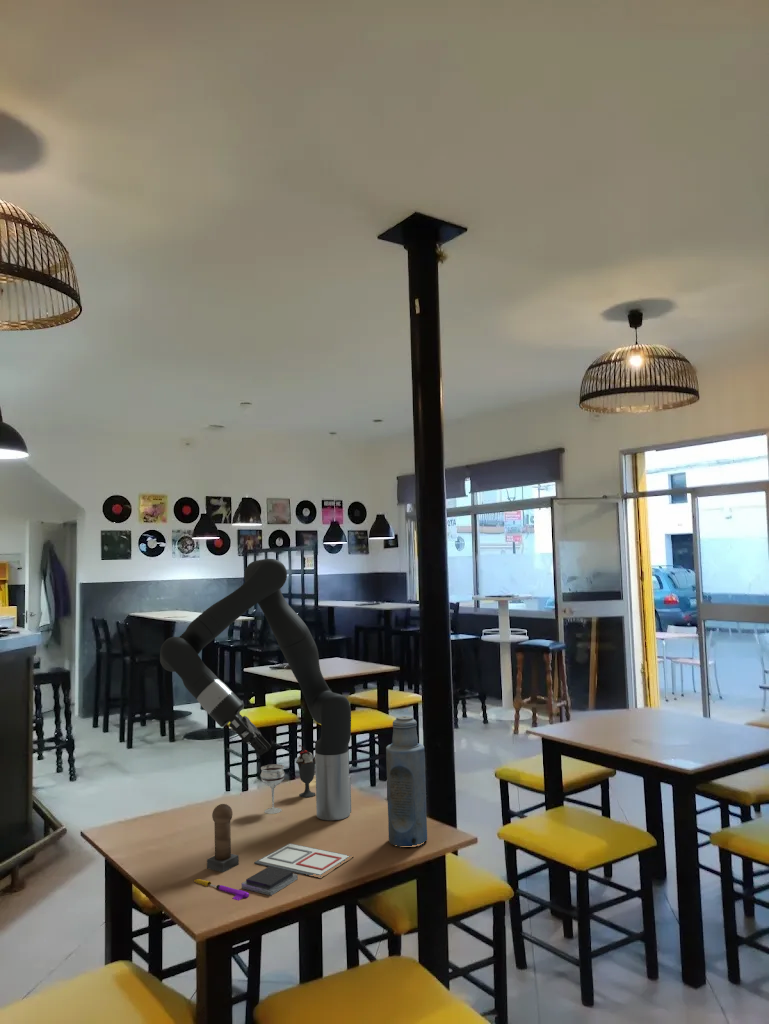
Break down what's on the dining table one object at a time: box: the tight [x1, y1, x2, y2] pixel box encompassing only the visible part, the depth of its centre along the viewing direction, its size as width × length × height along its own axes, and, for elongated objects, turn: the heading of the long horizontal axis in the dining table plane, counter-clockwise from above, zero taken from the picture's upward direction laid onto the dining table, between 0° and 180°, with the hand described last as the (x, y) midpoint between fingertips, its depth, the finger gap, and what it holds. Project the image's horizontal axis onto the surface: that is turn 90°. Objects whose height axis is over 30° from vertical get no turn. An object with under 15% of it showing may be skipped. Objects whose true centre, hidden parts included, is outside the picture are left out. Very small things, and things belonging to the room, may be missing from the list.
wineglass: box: [260, 763, 286, 815], centre depth 202 cm, size 7×7×12 cm
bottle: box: [385, 715, 428, 846], centre depth 176 cm, size 10×10×30 cm
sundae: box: [295, 744, 316, 798], centre depth 216 cm, size 7×7×15 cm
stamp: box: [206, 803, 240, 873], centre depth 164 cm, size 5×5×14 cm
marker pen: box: [193, 878, 250, 901], centre depth 150 cm, size 3×1×16 cm
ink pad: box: [241, 866, 298, 896], centre depth 153 cm, size 9×8×2 cm
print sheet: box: [254, 842, 351, 877], centre depth 165 cm, size 13×19×1 cm
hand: (266, 751), depth 170 cm, fingers open, 8 cm apart
